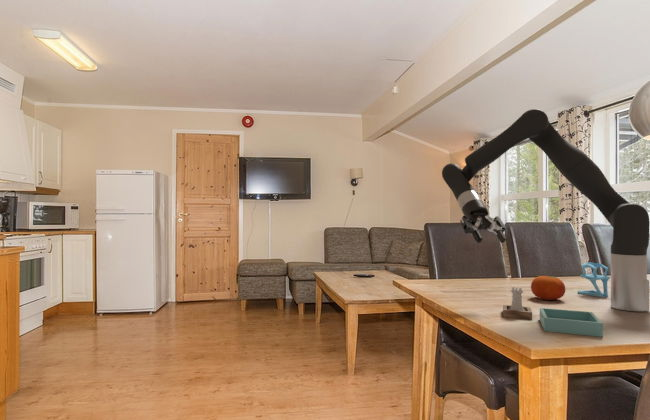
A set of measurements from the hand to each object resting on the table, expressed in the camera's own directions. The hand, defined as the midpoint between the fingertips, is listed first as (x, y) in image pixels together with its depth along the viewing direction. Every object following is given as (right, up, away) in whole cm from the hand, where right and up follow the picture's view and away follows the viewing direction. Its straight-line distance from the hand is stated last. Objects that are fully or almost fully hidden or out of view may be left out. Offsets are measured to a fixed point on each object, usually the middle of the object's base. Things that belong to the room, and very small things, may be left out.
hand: (492, 241), depth 132 cm
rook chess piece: (+3, -21, -11) cm, 24 cm away
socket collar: (+3, -21, -11) cm, 24 cm away
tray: (+10, -21, -24) cm, 34 cm away
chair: (+46, -22, +20) cm, 55 cm away
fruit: (+24, -21, +12) cm, 35 cm away
